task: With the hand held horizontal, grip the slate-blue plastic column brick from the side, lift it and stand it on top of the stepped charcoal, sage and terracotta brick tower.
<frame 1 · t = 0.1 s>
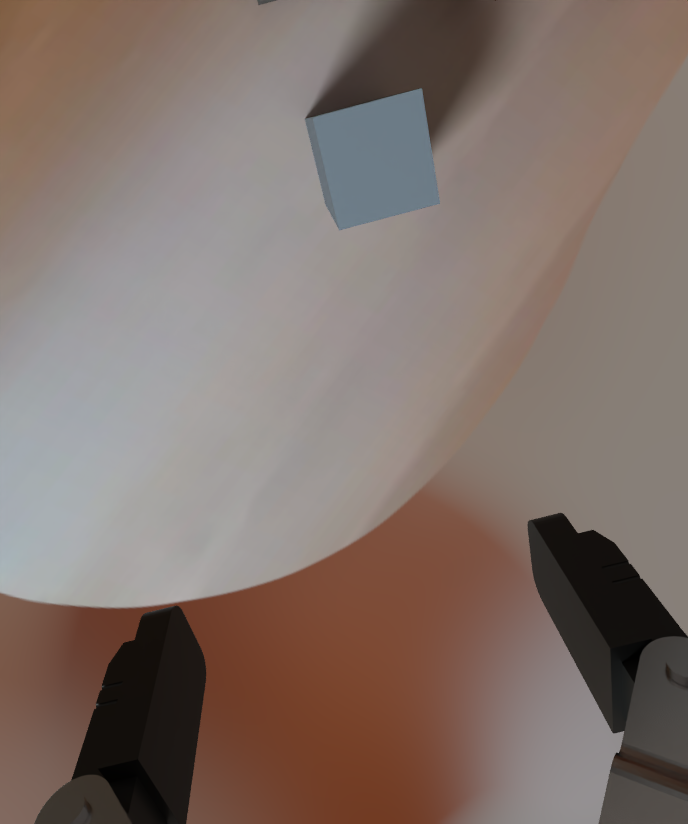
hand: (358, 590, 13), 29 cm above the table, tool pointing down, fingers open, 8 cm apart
column brick: (354, 152, 36), on the table
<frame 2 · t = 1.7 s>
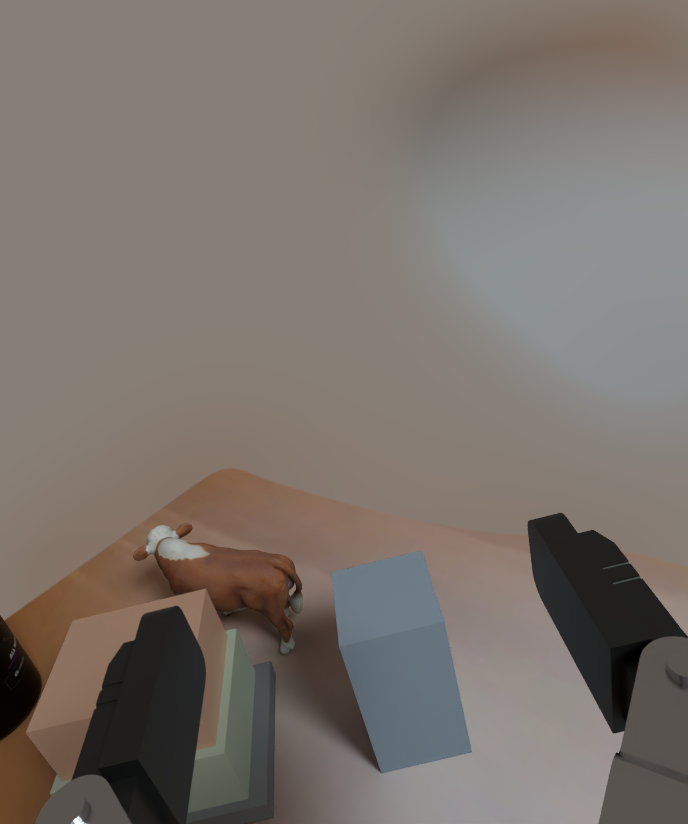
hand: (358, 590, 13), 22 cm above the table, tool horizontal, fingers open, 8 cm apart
column brick: (417, 720, 34), on the table
bull figurine: (239, 626, 44), on the table
brick tower: (185, 758, 35), on the table
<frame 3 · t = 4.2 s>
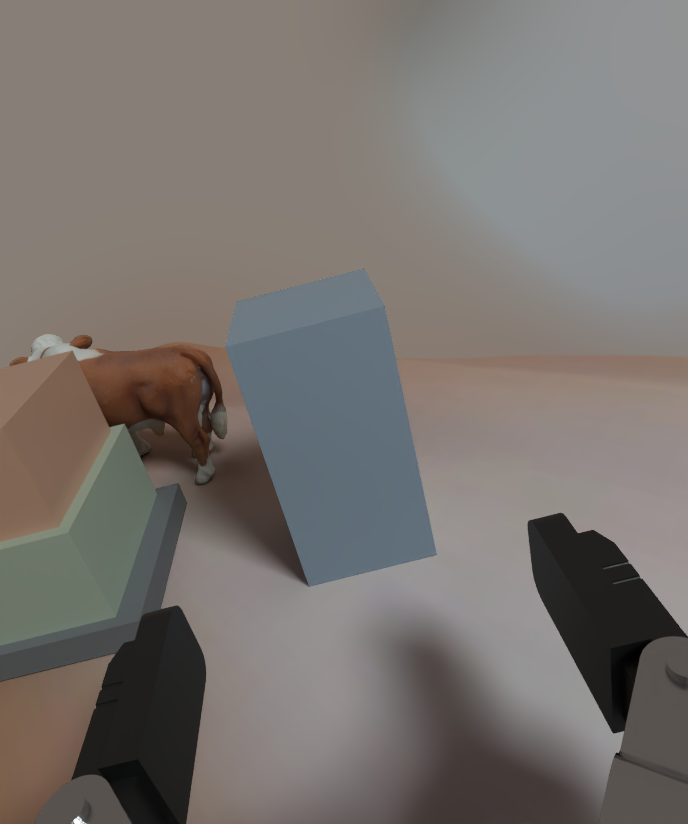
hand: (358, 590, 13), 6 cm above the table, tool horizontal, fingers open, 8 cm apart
column brick: (364, 530, 25), on the table
bull figurine: (152, 466, 35), on the table
brick tower: (50, 592, 26), on the table
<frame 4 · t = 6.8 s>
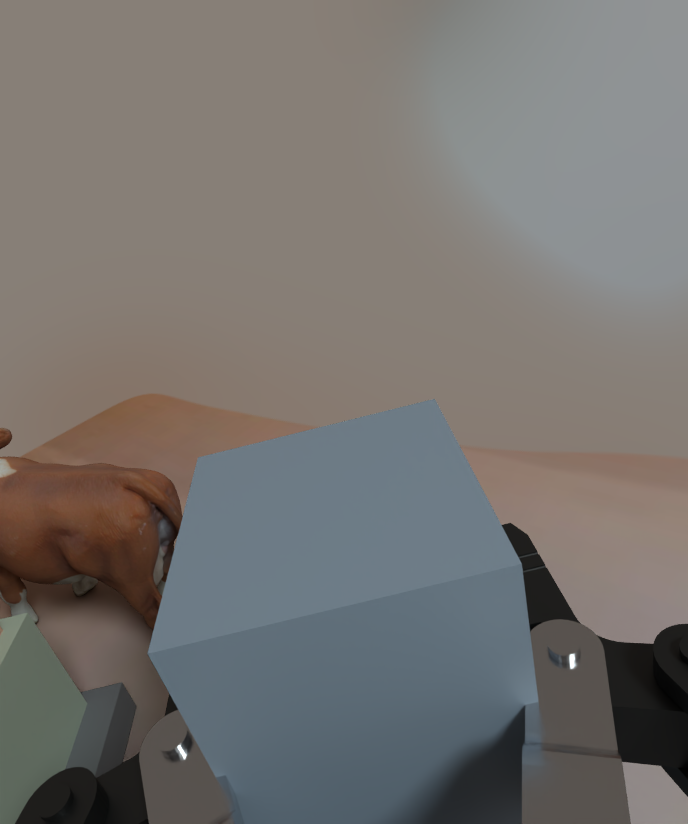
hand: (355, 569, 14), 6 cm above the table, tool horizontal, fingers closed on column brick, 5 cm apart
bull figurine: (97, 614, 24), on the table
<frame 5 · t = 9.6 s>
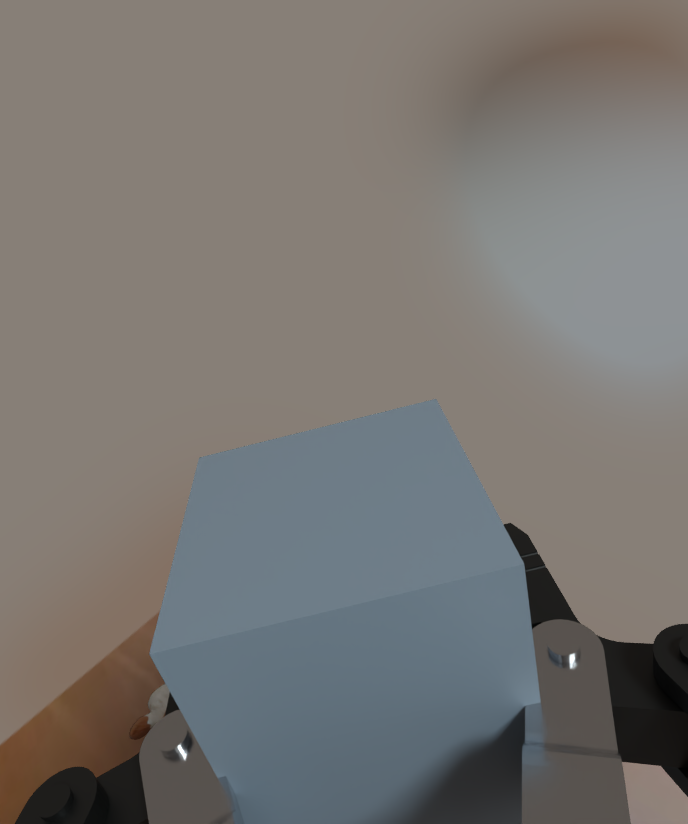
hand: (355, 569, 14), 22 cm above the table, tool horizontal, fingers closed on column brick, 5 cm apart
bull figurine: (280, 821, 31), on the table
when the fingers open (17 cm above the table, at t = 12.5 s): column brick drops 1 cm, resting on brick tower.
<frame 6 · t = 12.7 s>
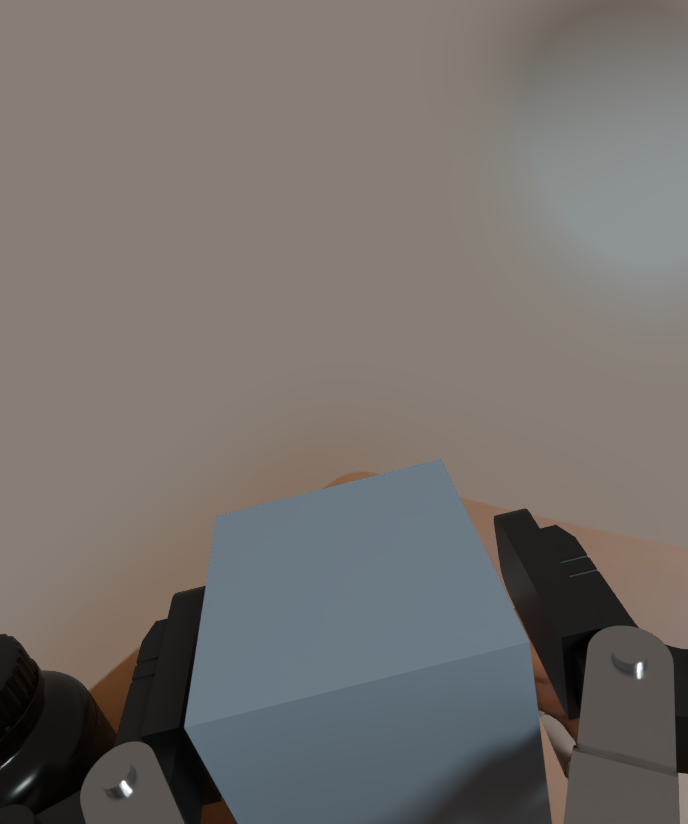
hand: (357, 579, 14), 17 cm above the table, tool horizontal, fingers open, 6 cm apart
bull figurine: (470, 721, 28), on the table
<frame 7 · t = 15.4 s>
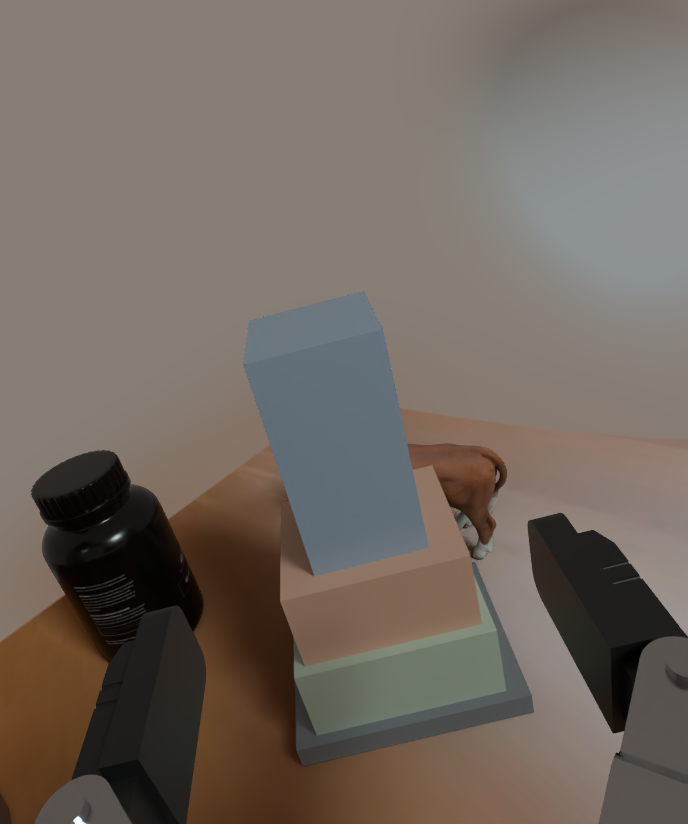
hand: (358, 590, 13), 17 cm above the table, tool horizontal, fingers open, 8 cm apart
supplement bottle: (156, 627, 38), on the table
column brick: (364, 526, 27), point 9 cm above the table, touching brick tower
bull figurine: (413, 536, 40), on the table
brick tower: (400, 659, 31), on the table
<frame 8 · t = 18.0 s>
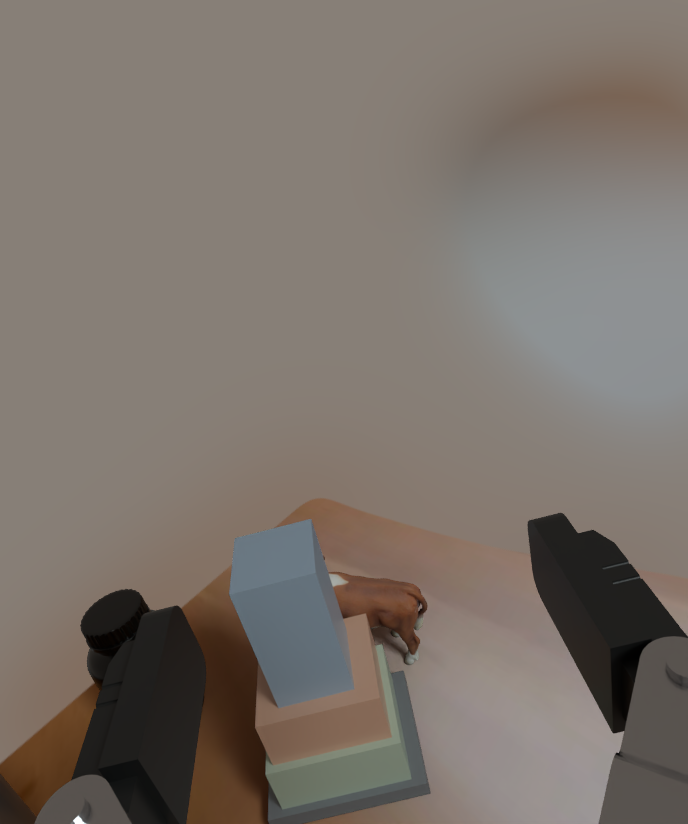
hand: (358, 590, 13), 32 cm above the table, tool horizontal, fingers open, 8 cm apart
supplement bottle: (168, 713, 51), on the table
column brick: (314, 666, 40), point 9 cm above the table, touching brick tower
bull figurine: (363, 640, 53), on the table
brick tower: (345, 748, 44), on the table
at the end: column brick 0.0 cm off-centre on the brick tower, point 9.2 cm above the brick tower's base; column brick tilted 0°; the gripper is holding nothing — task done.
